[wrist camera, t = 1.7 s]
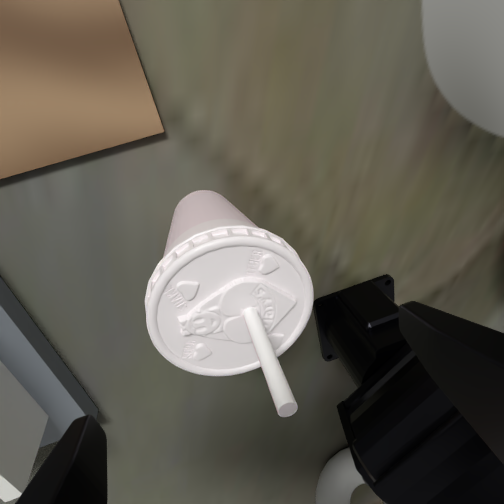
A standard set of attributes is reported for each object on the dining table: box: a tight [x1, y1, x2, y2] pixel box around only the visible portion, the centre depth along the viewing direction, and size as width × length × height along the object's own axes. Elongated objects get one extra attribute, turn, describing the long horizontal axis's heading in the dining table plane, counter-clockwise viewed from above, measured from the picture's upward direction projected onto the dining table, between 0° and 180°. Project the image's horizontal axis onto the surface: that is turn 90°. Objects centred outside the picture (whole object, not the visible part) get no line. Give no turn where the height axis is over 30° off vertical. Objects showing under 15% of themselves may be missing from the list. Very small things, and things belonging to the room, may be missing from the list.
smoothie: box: [145, 190, 313, 417], centre depth 15 cm, size 6×6×14 cm
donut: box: [315, 447, 387, 504], centre depth 32 cm, size 10×4×10 cm, turn 120°
